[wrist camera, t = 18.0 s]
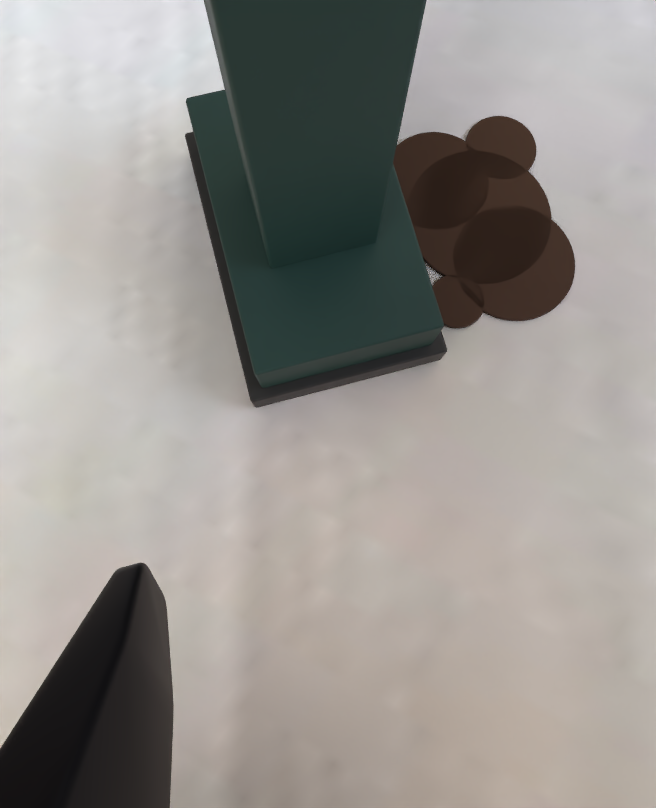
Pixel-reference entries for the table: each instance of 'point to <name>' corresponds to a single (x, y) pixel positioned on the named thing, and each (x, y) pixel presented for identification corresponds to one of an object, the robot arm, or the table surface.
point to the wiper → (313, 192)
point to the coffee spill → (484, 223)
